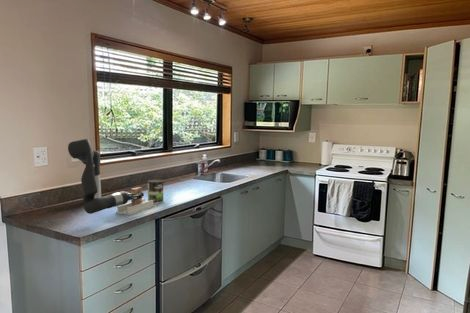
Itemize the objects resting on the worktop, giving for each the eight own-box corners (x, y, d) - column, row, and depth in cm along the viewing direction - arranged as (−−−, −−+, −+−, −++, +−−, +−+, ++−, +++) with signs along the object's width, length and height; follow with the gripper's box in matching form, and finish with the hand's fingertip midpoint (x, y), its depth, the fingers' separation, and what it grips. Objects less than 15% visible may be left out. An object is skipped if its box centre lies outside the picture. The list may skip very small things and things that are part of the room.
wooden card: (135, 209, 205) (134, 189, 204) (131, 208, 206) (131, 188, 205) (142, 206, 210) (141, 187, 209) (138, 206, 212) (138, 187, 210)
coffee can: (166, 201, 227) (166, 180, 226) (153, 204, 220) (153, 182, 218) (157, 198, 234) (157, 178, 232) (144, 201, 227) (144, 180, 225)
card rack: (129, 215, 196) (128, 208, 195) (116, 212, 200) (116, 206, 200) (154, 206, 215) (154, 200, 215) (142, 204, 220) (142, 198, 219)
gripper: (127, 194, 190) (147, 188, 205) (108, 191, 197) (129, 186, 211) (127, 207, 191) (147, 200, 206) (108, 203, 198) (129, 197, 212)
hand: (138, 193), depth 209 cm, fingers open, 7 cm apart
